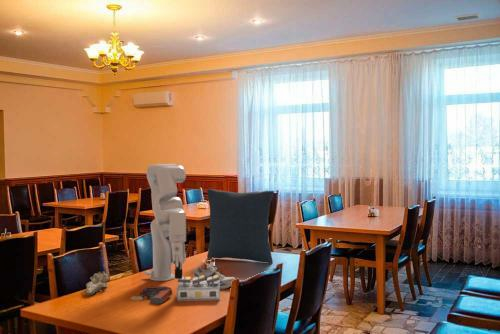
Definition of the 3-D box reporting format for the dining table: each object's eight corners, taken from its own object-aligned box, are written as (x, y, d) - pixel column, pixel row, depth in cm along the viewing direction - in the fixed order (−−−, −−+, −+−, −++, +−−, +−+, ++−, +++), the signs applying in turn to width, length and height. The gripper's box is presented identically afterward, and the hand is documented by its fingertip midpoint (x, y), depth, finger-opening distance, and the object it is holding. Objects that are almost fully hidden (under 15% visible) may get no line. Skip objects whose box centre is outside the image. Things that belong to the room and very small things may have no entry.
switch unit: (176, 301, 216) (176, 286, 215) (179, 293, 228) (179, 278, 228) (219, 300, 217) (219, 285, 216) (220, 292, 229) (219, 277, 228)
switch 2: (192, 283, 219) (192, 280, 219) (193, 281, 224) (192, 278, 224) (204, 280, 220) (204, 277, 220) (205, 277, 224) (204, 274, 224)
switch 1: (177, 282, 219) (178, 279, 219) (178, 279, 224) (179, 276, 224) (190, 282, 219) (190, 279, 219) (191, 279, 224) (191, 276, 224)
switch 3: (207, 283, 220) (206, 280, 220) (207, 280, 225) (206, 277, 225) (219, 280, 220) (218, 277, 220) (219, 277, 225) (218, 274, 225)
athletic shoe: (234, 289, 232) (234, 264, 234) (188, 288, 237) (189, 263, 239) (238, 289, 242) (239, 264, 244) (194, 287, 246) (195, 263, 249)
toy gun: (162, 305, 212) (179, 292, 226) (160, 294, 212) (177, 281, 226) (129, 306, 219) (147, 293, 233) (127, 295, 219) (145, 282, 232)
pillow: (278, 260, 293) (278, 188, 292) (270, 266, 278) (270, 191, 277) (212, 255, 308) (212, 187, 306) (202, 261, 293) (201, 189, 291)
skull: (118, 275, 239) (102, 263, 239) (95, 296, 222) (79, 282, 223) (111, 287, 243) (95, 275, 244) (88, 308, 227) (72, 295, 227)
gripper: (184, 240, 213) (185, 282, 214) (187, 235, 228) (188, 273, 229) (167, 241, 213) (168, 282, 213) (171, 235, 228) (172, 274, 228)
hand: (178, 277), depth 221 cm, fingers closed
